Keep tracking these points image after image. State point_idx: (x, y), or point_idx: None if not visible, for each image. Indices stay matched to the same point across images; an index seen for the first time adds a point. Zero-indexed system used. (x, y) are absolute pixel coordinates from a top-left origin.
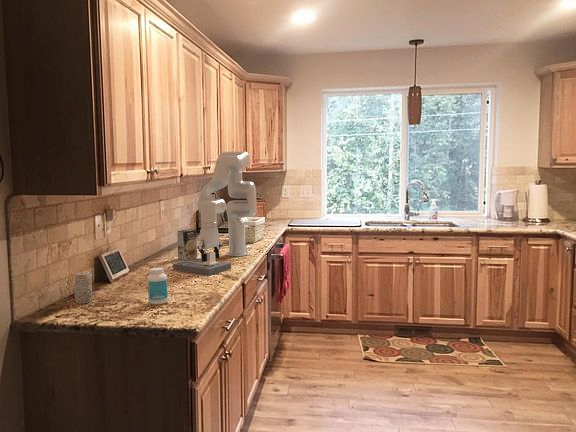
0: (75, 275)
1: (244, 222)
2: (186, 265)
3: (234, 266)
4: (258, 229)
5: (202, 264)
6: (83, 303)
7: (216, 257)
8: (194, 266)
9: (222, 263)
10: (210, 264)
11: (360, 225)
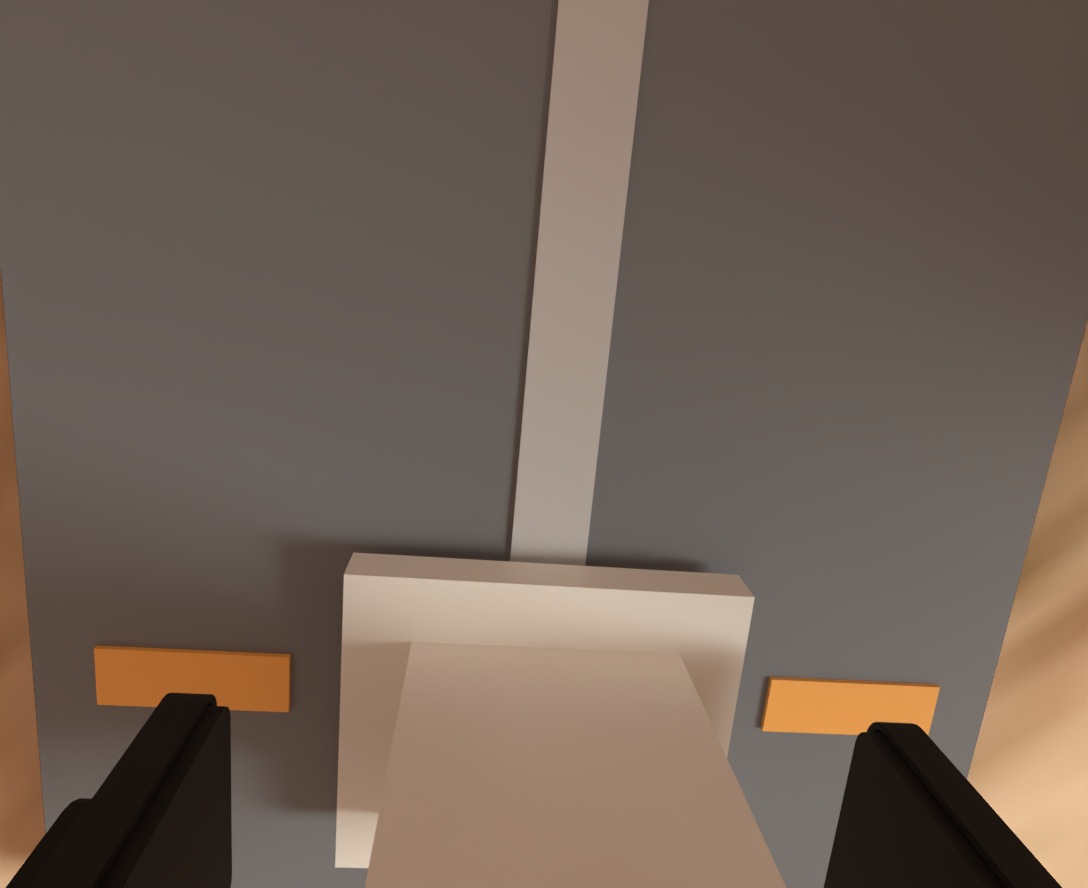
0: None
1: None
2: (36, 18)
3: (1075, 805)
4: None
5: (451, 455)
6: None
7: (843, 848)
8: (88, 407)
9: (797, 862)
10: (348, 856)
11: None
